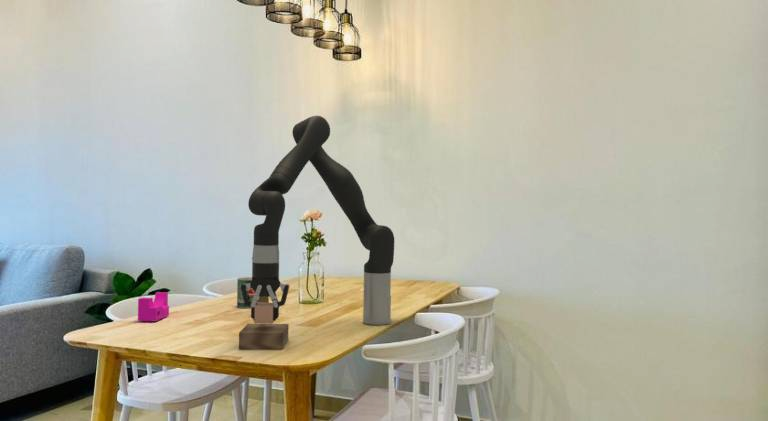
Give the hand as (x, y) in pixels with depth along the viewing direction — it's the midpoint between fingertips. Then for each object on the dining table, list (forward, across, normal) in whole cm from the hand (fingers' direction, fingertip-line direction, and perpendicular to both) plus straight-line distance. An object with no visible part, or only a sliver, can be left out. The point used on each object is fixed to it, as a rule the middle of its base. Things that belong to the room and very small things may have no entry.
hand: (264, 319), depth 159 cm
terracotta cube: (0, 0, 0) cm, 0 cm away
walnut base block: (+7, 0, 0) cm, 7 cm away
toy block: (+7, +45, -40) cm, 60 cm away
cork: (+7, +8, -42) cm, 43 cm away
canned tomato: (+7, +17, -61) cm, 64 cm away
